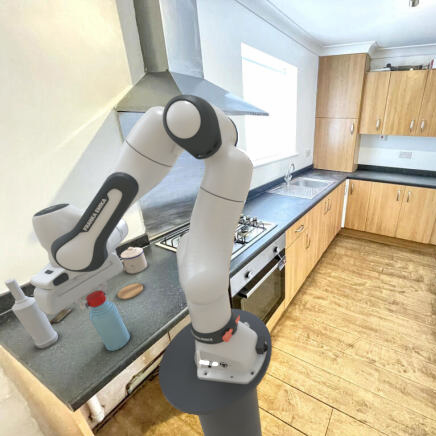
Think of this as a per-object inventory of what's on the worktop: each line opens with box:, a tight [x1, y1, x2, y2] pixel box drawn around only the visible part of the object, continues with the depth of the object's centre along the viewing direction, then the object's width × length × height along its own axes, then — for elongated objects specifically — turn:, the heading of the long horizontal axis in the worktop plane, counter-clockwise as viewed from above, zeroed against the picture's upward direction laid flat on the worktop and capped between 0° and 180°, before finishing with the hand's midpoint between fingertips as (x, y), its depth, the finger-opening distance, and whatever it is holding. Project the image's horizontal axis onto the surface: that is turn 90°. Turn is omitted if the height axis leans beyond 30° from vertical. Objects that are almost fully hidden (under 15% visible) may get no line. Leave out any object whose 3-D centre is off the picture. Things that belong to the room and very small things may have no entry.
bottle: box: [4, 278, 59, 349], centre depth 71 cm, size 5×5×25 cm
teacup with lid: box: [120, 246, 148, 274], centre depth 109 cm, size 12×9×12 cm
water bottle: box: [88, 299, 131, 352], centre depth 72 cm, size 6×6×19 cm
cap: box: [85, 289, 107, 308], centre depth 68 cm, size 4×4×3 cm
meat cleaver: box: [48, 308, 73, 325], centre depth 83 cm, size 12×1×5 cm
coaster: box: [117, 282, 144, 300], centre depth 97 cm, size 9×9×1 cm
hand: (94, 301), depth 68 cm, fingers closed on cap, 4 cm apart
